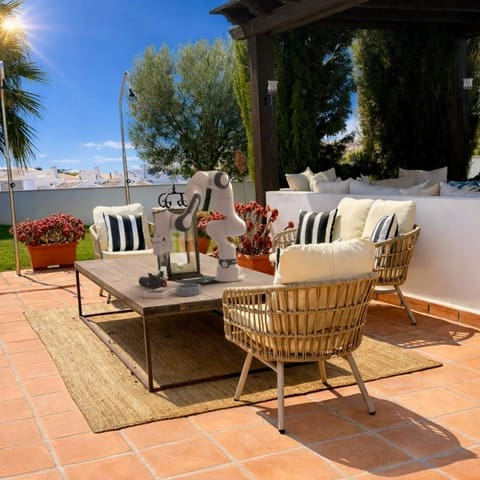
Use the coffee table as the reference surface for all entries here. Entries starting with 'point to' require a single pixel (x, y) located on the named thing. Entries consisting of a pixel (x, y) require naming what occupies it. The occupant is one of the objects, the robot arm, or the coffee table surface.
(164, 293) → the cradle
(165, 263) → the cell
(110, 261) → the coffee table surface
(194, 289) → the blue-gray round bowl
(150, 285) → the laser sight
